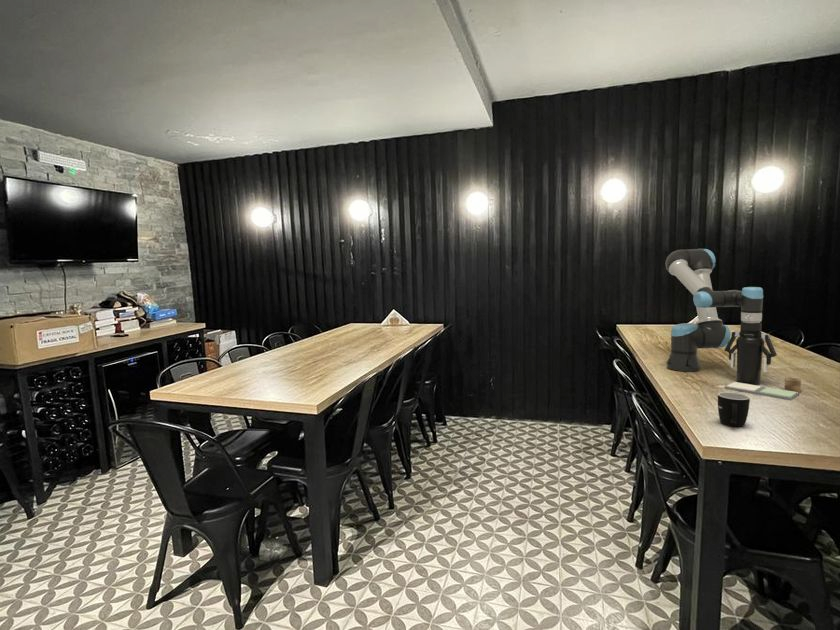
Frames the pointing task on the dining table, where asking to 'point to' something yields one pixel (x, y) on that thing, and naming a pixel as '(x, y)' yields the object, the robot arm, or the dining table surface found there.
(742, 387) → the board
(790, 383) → the walnut block
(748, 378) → the black travel mug
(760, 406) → the dining table surface
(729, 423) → the mug
